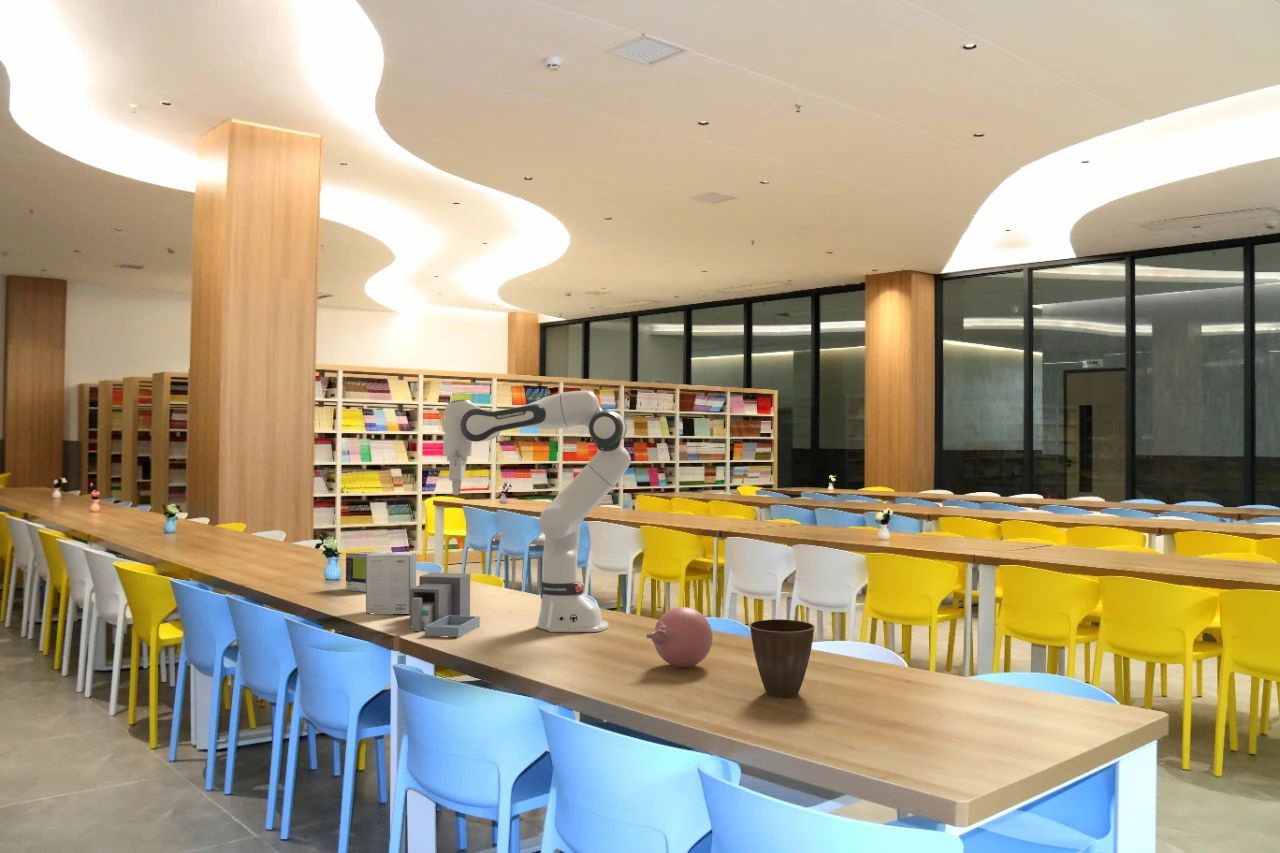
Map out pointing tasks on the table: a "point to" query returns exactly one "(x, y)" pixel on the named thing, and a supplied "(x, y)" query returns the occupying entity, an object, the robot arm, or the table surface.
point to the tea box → (357, 570)
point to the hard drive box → (389, 582)
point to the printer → (444, 593)
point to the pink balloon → (682, 637)
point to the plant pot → (782, 654)
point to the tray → (452, 626)
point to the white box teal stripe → (422, 613)
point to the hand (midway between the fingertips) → (456, 494)
